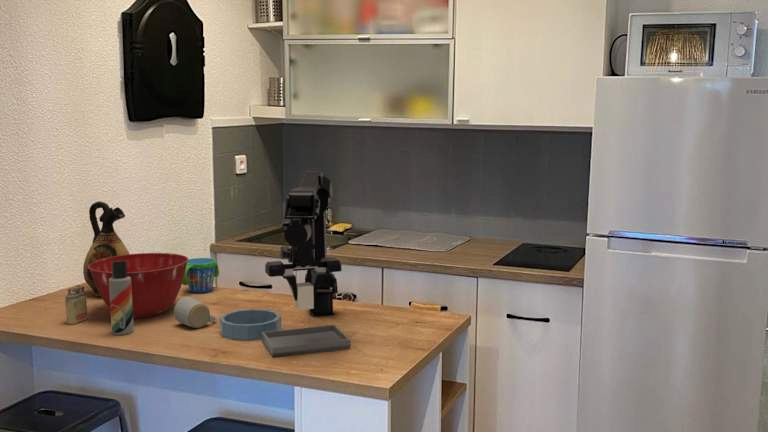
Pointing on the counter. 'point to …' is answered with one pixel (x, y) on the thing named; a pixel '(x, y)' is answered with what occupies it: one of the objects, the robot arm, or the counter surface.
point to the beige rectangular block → (304, 296)
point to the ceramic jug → (103, 239)
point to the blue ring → (257, 319)
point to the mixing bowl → (144, 280)
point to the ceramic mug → (192, 313)
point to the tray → (305, 340)
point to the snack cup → (200, 274)
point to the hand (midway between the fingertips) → (304, 299)
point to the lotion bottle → (121, 299)
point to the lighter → (76, 305)
